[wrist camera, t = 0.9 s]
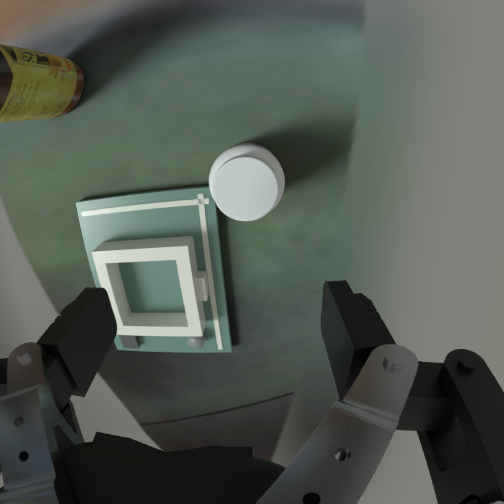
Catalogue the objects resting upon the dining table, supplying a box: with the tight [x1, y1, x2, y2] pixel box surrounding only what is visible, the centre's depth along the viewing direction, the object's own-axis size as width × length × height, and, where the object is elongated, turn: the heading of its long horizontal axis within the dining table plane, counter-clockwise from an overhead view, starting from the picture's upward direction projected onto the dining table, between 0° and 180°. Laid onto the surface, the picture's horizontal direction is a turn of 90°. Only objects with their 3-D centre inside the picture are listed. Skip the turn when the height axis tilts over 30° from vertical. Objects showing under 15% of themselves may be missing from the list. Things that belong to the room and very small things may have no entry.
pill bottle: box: [209, 142, 285, 221], centre depth 22 cm, size 5×5×9 cm
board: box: [76, 185, 232, 352], centre depth 29 cm, size 18×14×4 cm
